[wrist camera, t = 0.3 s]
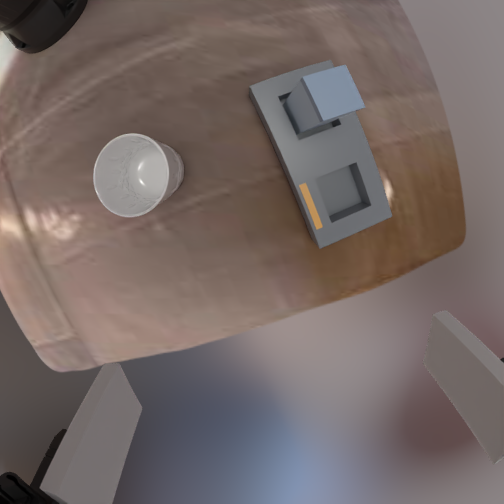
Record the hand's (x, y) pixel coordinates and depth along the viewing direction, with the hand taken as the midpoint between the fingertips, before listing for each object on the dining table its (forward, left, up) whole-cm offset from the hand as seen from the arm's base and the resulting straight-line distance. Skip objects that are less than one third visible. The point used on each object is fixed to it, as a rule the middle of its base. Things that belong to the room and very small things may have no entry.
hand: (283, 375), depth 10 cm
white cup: (-11, -8, -27) cm, 30 cm away
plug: (-10, +11, -26) cm, 30 cm away
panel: (-5, +11, -27) cm, 30 cm away
